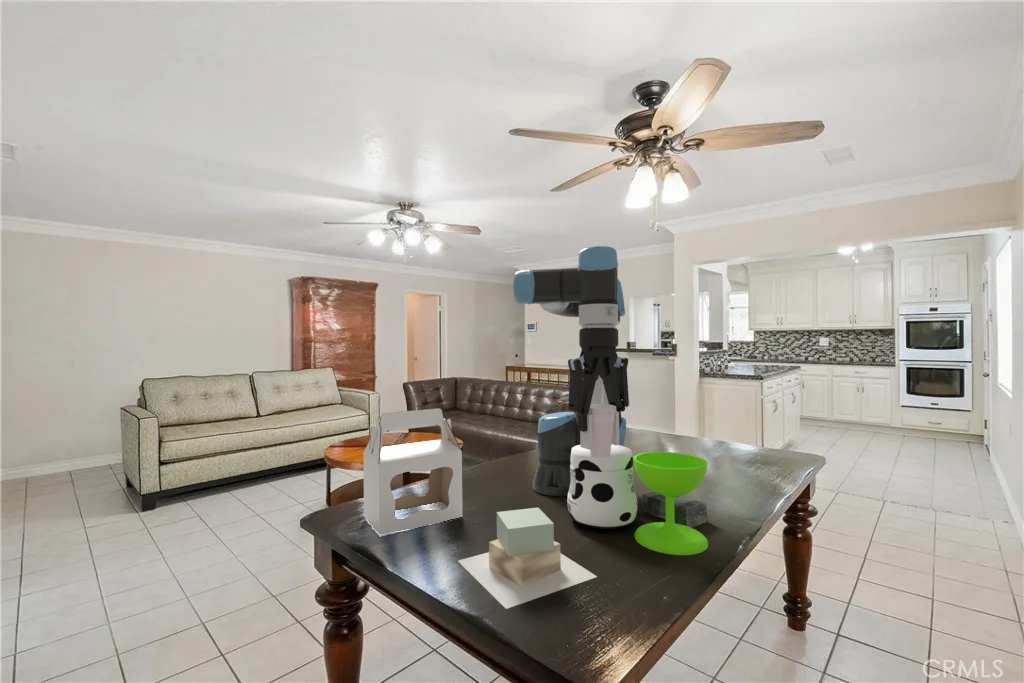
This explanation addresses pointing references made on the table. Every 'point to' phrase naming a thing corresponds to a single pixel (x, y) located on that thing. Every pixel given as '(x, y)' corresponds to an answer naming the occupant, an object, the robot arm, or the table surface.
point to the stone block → (677, 509)
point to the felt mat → (515, 594)
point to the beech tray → (524, 563)
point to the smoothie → (602, 427)
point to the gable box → (412, 457)
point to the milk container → (602, 488)
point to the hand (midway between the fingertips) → (600, 445)
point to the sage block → (525, 531)
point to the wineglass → (670, 500)
